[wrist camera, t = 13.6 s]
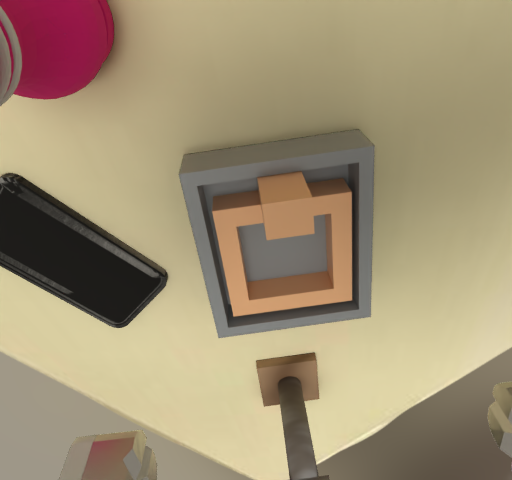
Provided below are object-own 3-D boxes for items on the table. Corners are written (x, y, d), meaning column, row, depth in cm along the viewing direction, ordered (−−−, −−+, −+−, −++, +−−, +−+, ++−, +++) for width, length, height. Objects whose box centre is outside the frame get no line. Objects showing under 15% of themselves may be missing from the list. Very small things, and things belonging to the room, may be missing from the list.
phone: (2, 170, 30) (172, 279, 35) (9, 165, 30) (173, 272, 36) (-46, 242, 32) (120, 332, 38) (-38, 235, 33) (122, 324, 39)
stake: (314, 352, 42) (343, 469, 32) (317, 391, 45) (344, 508, 35) (256, 360, 42) (265, 479, 32) (263, 398, 45) (274, 518, 35)
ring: (342, 149, 30) (371, 189, 24) (344, 282, 37) (368, 339, 31) (207, 168, 30) (203, 212, 24) (233, 297, 37) (234, 357, 31)
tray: (358, 129, 30) (374, 145, 27) (358, 288, 38) (370, 316, 35) (183, 154, 30) (178, 174, 27) (219, 308, 38) (218, 338, 35)
